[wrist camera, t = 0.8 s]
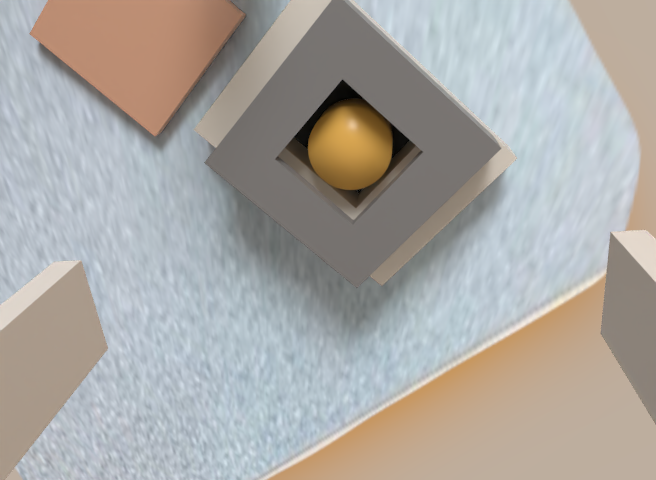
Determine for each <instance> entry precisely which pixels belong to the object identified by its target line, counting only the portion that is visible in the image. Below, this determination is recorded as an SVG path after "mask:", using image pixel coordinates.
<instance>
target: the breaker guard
mask: <svg viewBox="0 0 656 480" xmlns="http://www.w3.org/2000/svg"><path fill="white" fill-rule="evenodd" d="M342 79H343V80H344V81H345V82H346V83H347V84H348V85H349V86H351V87H352V88H353V89H354V90H355V91H356V92H357V93H358V94H359V95H361V96H362V97H363V98H364V99H365V100H366V101H367V102H368V103H369V104H371V105H372V106H373V107H374V108H375V109H376V110H377V111H378V112H379V113H380V114H382V115H383V116H384V117H385V118H386V119H387V120H388V121H389V122H390V123H392V124H393V125H394V126H395V127H396V128H397V129H398V130H399V131H400V132H402V133H403V134H404V135H405V136H406V137H407V138H408V139H409V141H408V143H407V144H406V145H405V146H404V147H403V148H402V149H401V150H400V151H399V152H398V153H397V154H396V155H395V156H394V157H393V158H392V159H391V161H390V164H389V166H388V168H387V170H386V171H385V173H384V174H383V175H382V177H381V178H380V179H379V180H377V181H376V182H375V183H373V184H372V185H370V186H368V187H365V188H364V189H363V190H362V191H361V192H360V193H358V192H357V191H355V190H344V189H340V188H336V187H334V186H331V185H330V184H328V183H326V182H325V181H324V180H322V179H321V178H320V177H319V176H318V174H317V173H316V172H315V170H314V169H313V167H312V165H311V162H310V159H309V155H308V149H307V148H305V147H304V146H303V145H302V144H301V143H300V142H299V141H297V140H296V139H295V138H294V136H295V135H296V134H297V133H298V131H299V130H300V129H301V128H302V127H303V125H304V124H305V123H306V122H307V121H308V119H309V118H310V117H311V116H312V115H313V114H314V112H315V111H316V110H317V109H318V108H319V106H320V105H321V104H322V103H323V102H324V100H325V99H326V98H327V97H328V96H329V95H330V93H331V92H332V91H333V90H334V89H335V87H336V86H337V85H338V84H339V83H340V81H341V80H342ZM194 130H195V131H196V132H197V133H198V134H199V135H201V136H202V137H203V138H204V139H206V140H207V141H208V142H209V143H210V144H212V145H213V146H214V147H215V148H216V149H215V150H214V151H213V153H212V154H211V155H210V156H209V158H208V159H207V160H206V162H205V164H206V165H208V166H209V167H210V168H211V169H213V170H214V171H215V172H216V173H217V174H219V175H220V176H221V177H222V178H224V179H225V180H226V181H227V182H228V183H230V184H231V185H232V186H233V187H234V188H236V189H237V190H238V191H239V192H241V193H242V194H243V195H244V196H245V197H247V198H248V199H249V200H250V201H251V202H253V203H254V204H255V205H256V206H258V207H259V208H260V209H261V210H262V211H264V212H265V213H266V214H267V215H269V216H270V217H271V218H272V219H273V220H275V221H276V222H277V223H278V224H279V225H281V226H282V227H283V228H284V229H286V230H287V231H288V232H289V233H290V234H292V235H293V236H294V237H295V238H296V239H298V240H299V241H300V242H301V243H303V244H304V245H305V246H306V247H307V248H309V249H310V250H311V251H312V252H313V253H315V254H316V255H317V256H318V257H320V258H321V259H322V260H323V261H324V262H326V263H327V264H328V265H329V266H331V267H332V268H333V269H334V270H335V271H337V272H338V273H339V274H340V275H341V276H343V277H344V278H345V279H346V280H348V281H349V282H350V283H351V284H352V285H354V286H355V287H356V288H357V287H358V286H359V285H361V284H362V283H363V282H364V281H365V280H366V279H367V278H368V277H369V276H370V277H371V278H373V279H374V280H375V281H376V282H377V283H379V284H380V285H381V286H383V285H384V284H385V283H386V282H387V281H388V280H389V279H390V278H391V277H392V276H393V275H394V274H395V273H396V272H397V271H398V270H399V269H401V268H402V267H403V266H404V265H405V264H406V263H407V262H408V261H409V260H410V259H411V258H412V257H413V256H414V255H415V254H416V253H417V252H419V251H420V250H421V249H422V248H423V247H424V246H425V245H426V244H427V243H428V242H429V241H430V240H431V239H432V238H433V237H434V236H436V235H437V234H438V233H439V232H440V231H441V230H442V229H443V228H444V227H445V226H446V225H447V224H448V223H449V222H450V221H451V220H452V219H454V218H455V217H456V216H457V215H458V214H459V213H460V212H461V211H462V210H463V209H464V208H465V207H466V206H467V205H468V204H469V203H470V202H472V201H473V200H474V199H475V198H476V197H477V196H478V195H479V194H480V193H481V192H482V191H483V190H484V189H485V188H486V187H487V186H488V185H490V184H491V183H492V182H493V181H494V180H495V179H496V178H497V177H498V176H499V175H500V174H501V173H502V172H503V171H504V170H505V169H507V168H508V167H509V166H510V165H511V164H512V163H513V162H514V161H515V160H516V159H517V157H516V156H515V154H514V153H513V152H512V150H511V149H510V147H509V146H508V145H507V144H506V143H505V142H504V141H503V140H502V139H501V138H499V137H498V136H497V135H496V134H495V133H494V132H493V131H492V130H491V129H490V128H489V127H488V126H487V125H486V124H485V123H483V122H482V121H481V120H480V119H479V118H478V117H477V116H476V115H475V114H474V113H473V112H472V111H471V110H470V109H469V108H468V107H466V106H465V105H464V104H463V103H462V102H461V101H460V100H459V99H458V98H457V97H456V96H455V95H454V94H453V93H452V92H450V91H449V90H448V89H447V88H446V87H445V86H444V85H443V84H442V83H441V82H440V81H439V80H438V79H437V78H436V77H435V76H433V75H432V74H431V73H430V72H429V71H428V70H427V69H426V68H425V67H424V66H423V65H422V64H421V63H420V62H419V61H417V60H416V59H415V58H414V57H413V56H412V55H411V54H410V53H409V52H408V51H407V50H406V49H405V48H404V47H403V46H401V45H400V44H399V43H398V42H397V41H396V40H395V39H394V38H393V37H392V36H391V35H390V34H389V33H388V32H387V31H386V30H384V29H383V28H382V27H381V26H380V25H379V24H378V23H377V22H376V21H375V20H374V19H373V18H372V17H371V16H370V15H368V14H367V13H366V12H365V11H364V10H363V9H362V8H361V7H360V6H359V5H358V4H357V3H356V2H355V1H354V0H291V1H290V2H289V3H288V5H287V6H286V7H285V9H284V10H283V11H282V13H281V14H280V15H279V17H278V18H277V19H276V21H275V22H274V23H273V25H272V26H271V27H270V29H269V30H268V31H267V33H266V34H265V35H264V37H263V38H262V39H261V41H260V42H259V43H258V45H257V46H256V47H255V49H254V50H253V51H252V53H251V54H250V55H249V57H248V58H247V59H246V61H245V62H244V63H243V65H242V66H241V67H240V69H239V70H238V71H237V73H236V74H235V75H234V77H233V78H232V79H231V81H230V82H229V83H228V85H227V86H226V87H225V89H224V90H223V91H222V93H221V94H220V95H219V97H218V98H217V99H216V101H215V102H214V103H213V105H212V106H211V107H210V109H209V110H208V111H207V113H206V114H205V115H204V117H203V118H202V119H201V121H200V122H199V123H198V125H197V126H196V127H195V129H194Z"/></svg>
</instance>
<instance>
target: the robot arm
mask: <svg viewBox="0 0 656 480" xmlns="http://www.w3.org/2000/svg"><path fill="white" fill-rule="evenodd" d="M601 335H602V336H603V338H604V340H605V341H606V343H607V345H608V346H609V348H610V349H611V351H612V353H613V355H614V356H615V358H616V360H617V361H618V363H619V365H620V366H621V368H622V370H623V371H624V373H625V374H626V376H627V378H628V379H629V381H630V383H631V384H632V386H633V388H634V389H635V391H636V393H637V394H638V396H639V398H640V399H641V401H642V403H643V404H644V406H645V407H646V409H647V411H648V413H649V414H650V416H651V417H652V419H653V421H654V422H655V424H656V239H655V238H654V237H653V236H652V235H651V234H650V233H649V232H648V231H647V230H638V231H618V232H611V233H610V243H609V254H608V264H607V274H606V284H605V295H604V305H603V315H602V325H601ZM107 349H108V347H107V343H106V340H105V337H104V334H103V330H102V327H101V324H100V320H99V317H98V314H97V311H96V307H95V304H94V301H93V297H92V294H91V291H90V287H89V284H88V281H87V278H86V274H85V271H84V268H83V264H82V261H81V260H76V261H58V262H53V263H52V264H51V265H49V266H48V267H47V268H46V269H45V270H43V271H42V272H41V273H40V274H38V275H37V276H36V277H35V278H33V279H32V280H31V281H30V282H28V283H27V284H26V285H25V286H24V287H22V288H21V289H20V290H19V291H17V292H16V293H15V294H14V295H12V296H11V297H10V298H9V299H7V300H6V301H5V302H4V303H3V304H1V305H0V480H5V479H6V478H7V476H8V475H9V474H10V472H11V471H12V470H13V469H14V467H15V466H16V465H17V464H18V462H19V461H20V460H21V459H22V457H23V456H24V455H25V453H26V452H27V451H28V450H29V448H30V447H31V446H32V445H33V443H34V442H35V441H36V439H37V438H38V437H39V436H40V434H41V433H42V432H43V431H44V429H45V428H46V427H47V426H48V424H49V423H50V422H51V420H52V419H53V418H54V417H55V415H56V414H57V413H58V412H59V410H60V409H61V408H62V406H63V405H64V404H65V403H66V401H67V400H68V399H69V398H70V396H71V395H72V394H73V393H74V391H75V390H76V389H77V387H78V386H79V385H80V384H81V382H82V381H83V380H84V379H85V377H86V376H87V375H88V373H89V372H90V371H91V370H92V368H93V367H94V366H95V365H96V363H97V362H98V361H99V360H100V358H101V357H102V356H103V354H104V353H105V352H106V351H107Z"/></svg>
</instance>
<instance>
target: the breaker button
mask: <svg viewBox="0 0 656 480" xmlns="http://www.w3.org/2000/svg"><path fill="white" fill-rule="evenodd" d="M392 145H393V132H392V127H391V124H390V122H389V121H388V120H387V119H386V118H385V117H384V116H383V115H382V114H380V113H379V112H378V111H377V110H376V109H375V108H374V107H373V106H372V105H371V104H369V103H368V102H367V101H366V100H363V99H357V98H350V99H344V100H341V101H338V102H336V103H334V104H332V105H331V106H330V107H328V108H327V109H326V110H325V111H324V112H323V114H322V115H321V117H320V118H319V120H318V121H317V123H316V124H315V126H314V127H313V129H312V131H311V134H310V137H309V141H308V155H309V159H310V162H311V165H312V167H313V169H314V170H315V172H316V173H317V174H318V176H319V177H320V178H321V179H322V180H324V181H325V182H326V183H328V184H330V185H331V186H334V187H336V188H340V189H344V190H357V189H362V188H365V187H368V186H370V185H372V184H373V183H375V182H376V181H377V180H379V179H380V178H381V177H382V175H383V174H384V173H385V171H386V170H387V168H388V166H389V164H390V161H391V157H392Z"/></svg>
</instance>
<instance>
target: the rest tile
mask: <svg viewBox="0 0 656 480" xmlns="http://www.w3.org/2000/svg"><path fill="white" fill-rule="evenodd" d="M245 16H246V14H244V13H243V12H242V11H241V10H240V9H239V8H238V7H237V6H235V5H234V4H233V3H232V2H231V1H230V0H48V2H47V3H46V5H45V7H44V9H43V11H42V12H41V14H40V16H39V18H38V20H37V21H36V23H35V25H34V27H33V28H32V30H31V32H30V35H31V36H33V37H34V38H35V39H36V40H38V41H39V42H40V43H41V44H42V45H44V46H45V47H46V48H47V49H49V50H50V51H51V52H52V53H53V54H55V55H56V56H57V57H58V58H60V59H61V60H62V61H63V62H64V63H66V64H67V65H68V66H69V67H71V68H72V69H73V70H74V71H76V72H77V73H78V74H79V75H80V76H82V77H83V78H84V79H85V80H87V81H88V82H89V83H90V84H91V85H93V86H94V87H95V88H96V89H98V90H99V91H100V92H101V93H102V94H104V95H105V96H106V97H107V98H109V99H110V100H111V101H112V102H113V103H115V104H116V105H117V106H118V107H120V108H121V109H122V110H123V111H124V112H126V113H127V114H128V115H129V116H131V117H132V118H133V119H134V120H135V121H137V122H138V123H139V124H140V125H142V126H143V127H144V128H145V129H146V130H148V131H149V132H150V133H151V134H153V135H154V136H157V135H159V134H160V133H161V132H162V131H163V130H164V128H165V127H166V125H167V124H168V123H169V121H170V120H171V119H172V117H173V116H174V114H175V113H176V112H177V110H178V109H179V107H180V106H181V105H182V103H183V102H184V101H185V99H186V98H187V96H188V95H189V94H190V92H191V91H192V89H193V88H194V87H195V85H196V84H197V83H198V81H199V80H200V78H201V77H202V76H203V74H204V73H205V72H206V70H207V69H208V67H209V66H210V65H211V63H212V62H213V60H214V59H215V58H216V56H217V55H218V54H219V52H220V51H221V49H222V48H223V47H224V45H225V44H226V42H227V41H228V40H229V38H230V37H231V36H232V34H233V33H234V31H235V30H236V29H237V27H238V26H239V25H240V23H241V22H242V20H243V19H244V18H245Z"/></svg>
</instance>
